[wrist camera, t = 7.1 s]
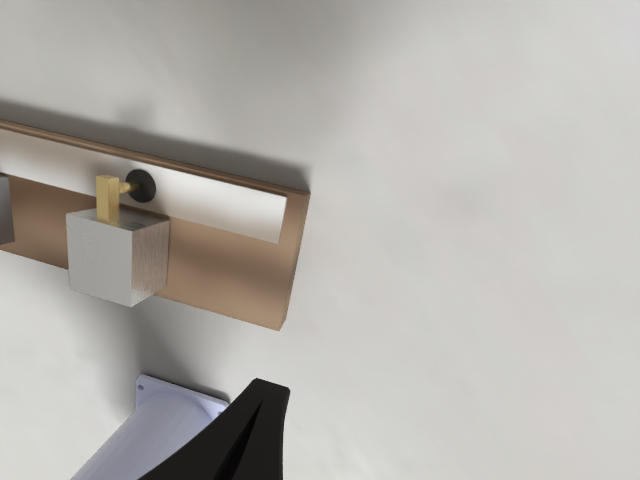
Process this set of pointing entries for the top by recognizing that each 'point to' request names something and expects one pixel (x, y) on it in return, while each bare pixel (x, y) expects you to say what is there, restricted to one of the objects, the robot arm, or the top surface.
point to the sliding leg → (116, 247)
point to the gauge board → (165, 202)
